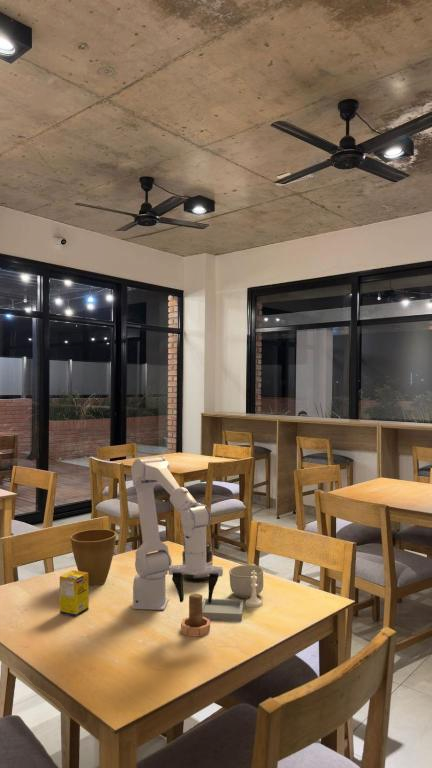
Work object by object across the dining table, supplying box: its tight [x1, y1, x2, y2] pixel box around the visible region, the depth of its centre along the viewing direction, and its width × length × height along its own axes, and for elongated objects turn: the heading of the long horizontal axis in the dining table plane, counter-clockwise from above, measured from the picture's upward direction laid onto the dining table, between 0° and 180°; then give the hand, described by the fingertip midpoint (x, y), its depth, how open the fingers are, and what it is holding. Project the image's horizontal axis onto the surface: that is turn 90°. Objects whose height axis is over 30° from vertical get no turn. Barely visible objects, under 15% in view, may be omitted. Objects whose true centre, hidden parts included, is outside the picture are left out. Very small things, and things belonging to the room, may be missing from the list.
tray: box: [202, 597, 245, 621], centre depth 158 cm, size 12×10×2 cm
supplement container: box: [181, 539, 214, 583], centre depth 186 cm, size 10×10×12 cm
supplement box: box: [59, 569, 90, 617], centre depth 158 cm, size 6×6×11 cm
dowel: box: [188, 593, 203, 627], centre depth 147 cm, size 4×4×9 cm
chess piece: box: [245, 570, 263, 608], centre depth 164 cm, size 5×5×10 cm
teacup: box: [228, 563, 264, 600], centre depth 172 cm, size 14×11×8 cm
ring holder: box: [180, 616, 211, 637], centre depth 147 cm, size 8×8×2 cm
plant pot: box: [70, 528, 117, 587], centre depth 182 cm, size 15×15×16 cm
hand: (195, 601), depth 146 cm, fingers open, 7 cm apart
